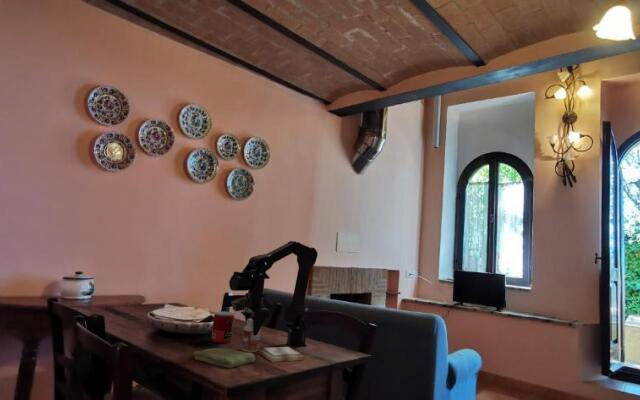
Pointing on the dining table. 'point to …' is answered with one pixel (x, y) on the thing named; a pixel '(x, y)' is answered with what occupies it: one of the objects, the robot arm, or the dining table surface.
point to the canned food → (223, 327)
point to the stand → (281, 354)
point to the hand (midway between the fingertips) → (251, 333)
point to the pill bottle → (250, 338)
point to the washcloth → (224, 357)
